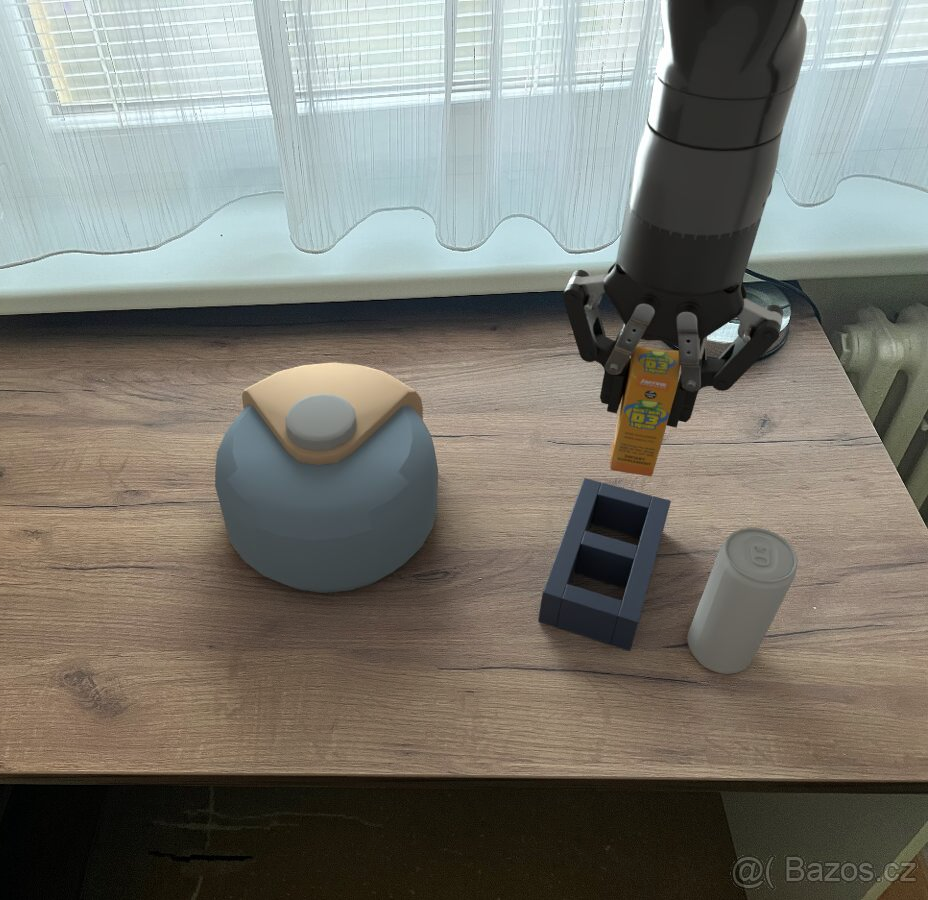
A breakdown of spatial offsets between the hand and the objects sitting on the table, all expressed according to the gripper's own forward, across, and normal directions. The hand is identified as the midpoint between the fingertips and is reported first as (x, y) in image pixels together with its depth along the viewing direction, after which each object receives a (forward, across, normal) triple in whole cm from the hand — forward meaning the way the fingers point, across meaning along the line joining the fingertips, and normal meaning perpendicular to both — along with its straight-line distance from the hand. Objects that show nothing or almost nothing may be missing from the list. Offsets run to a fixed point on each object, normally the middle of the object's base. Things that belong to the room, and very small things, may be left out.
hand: (644, 411), depth 63 cm
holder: (+16, 0, -3) cm, 16 cm away
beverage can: (+16, +10, -7) cm, 20 cm away
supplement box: (+5, 0, 0) cm, 5 cm away
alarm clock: (+16, -24, -5) cm, 29 cm away
